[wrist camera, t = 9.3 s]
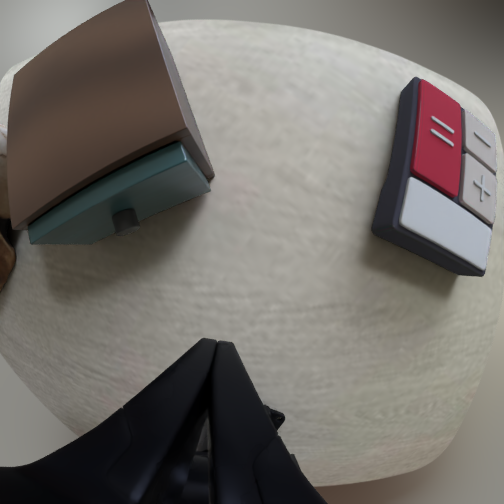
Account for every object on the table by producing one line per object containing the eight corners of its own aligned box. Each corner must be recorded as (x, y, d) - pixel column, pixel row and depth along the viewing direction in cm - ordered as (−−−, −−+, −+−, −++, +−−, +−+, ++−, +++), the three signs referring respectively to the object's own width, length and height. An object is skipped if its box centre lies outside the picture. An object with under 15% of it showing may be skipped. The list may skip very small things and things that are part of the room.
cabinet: (215, 176, 20) (187, 127, 11) (87, 234, 20) (12, 229, 11) (172, 55, 20) (143, -9, 11) (67, 112, 20) (13, 75, 11)
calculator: (499, 132, 16) (490, 278, 16) (475, 144, 20) (459, 276, 20) (417, 70, 16) (396, 227, 16) (397, 92, 20) (369, 233, 20)
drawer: (216, 206, 19) (195, 183, 12) (94, 258, 19) (34, 264, 12) (168, 68, 19) (143, 15, 12) (68, 122, 19) (22, 93, 12)
